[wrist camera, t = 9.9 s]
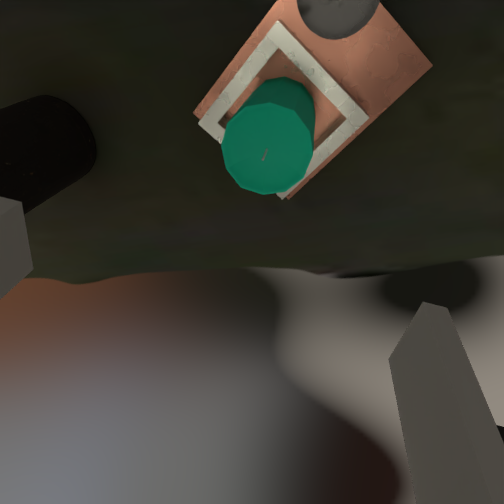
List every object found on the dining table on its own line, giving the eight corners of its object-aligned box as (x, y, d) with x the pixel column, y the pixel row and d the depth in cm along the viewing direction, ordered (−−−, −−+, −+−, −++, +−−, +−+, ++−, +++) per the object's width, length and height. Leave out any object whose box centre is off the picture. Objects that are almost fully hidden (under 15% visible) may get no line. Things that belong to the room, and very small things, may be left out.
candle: (288, 160, 35) (274, 221, 25) (234, 121, 34) (197, 169, 24) (330, 104, 32) (334, 149, 22) (272, 60, 31) (248, 85, 21)
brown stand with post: (197, 109, 35) (138, 156, 24) (324, -61, 27) (326, -108, 16) (289, 193, 38) (276, 269, 27) (428, 63, 30) (490, 95, 19)
